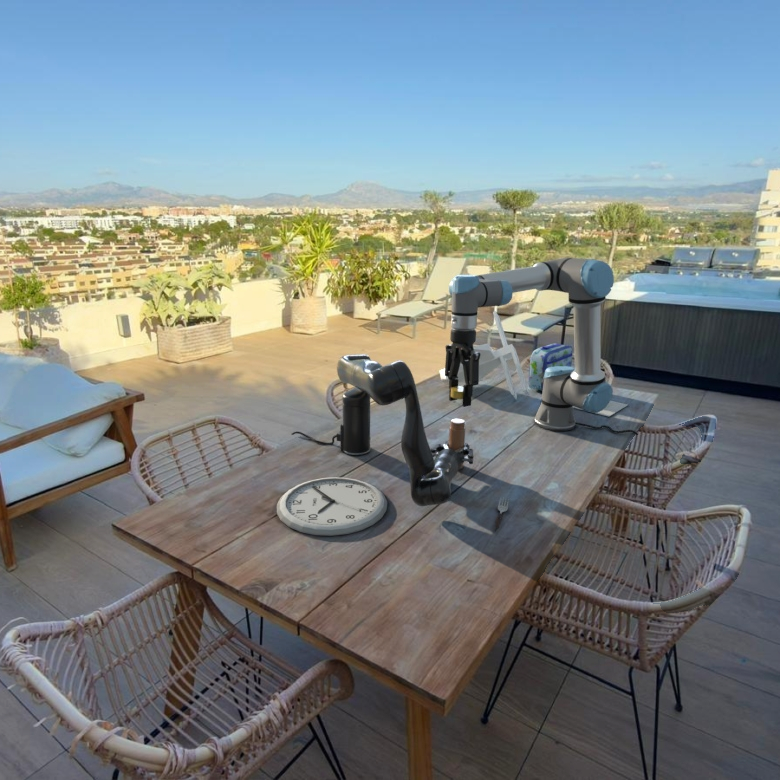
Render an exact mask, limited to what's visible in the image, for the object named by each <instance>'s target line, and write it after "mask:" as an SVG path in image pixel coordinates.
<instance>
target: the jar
mask: <svg viewBox="0 0 780 780" xmlns="http://www.w3.org/2000/svg"><path fill="white" fill-rule="evenodd" d="M448 441H449V449H452V450H457V449H459V448H463V447H464V445H465V443H466V442H465V441H466V421H465V419H462V418H452V419H451V420H450V425H449V432H448ZM463 468H464V462H463V463H461V466H460V468H459V470H463Z"/></svg>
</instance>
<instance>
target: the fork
mask: <svg viewBox="0 0 780 780" xmlns="http://www.w3.org/2000/svg"><path fill="white" fill-rule="evenodd" d="M501 500H502V501H501ZM509 500H510V497H508V499H507V498H505V500H504V496H503V497H500V498H499V502H498V505H497V511H499V514H498V515H497V517H496V521H495V527H494V532H497V530H498V527H499V526H500V524H501V522H502V515H503V513H504V512H507V511H508V509H509Z"/></svg>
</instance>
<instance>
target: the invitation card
mask: <svg viewBox="0 0 780 780" xmlns="http://www.w3.org/2000/svg"><path fill="white" fill-rule="evenodd" d="M628 406H629V404H627V403H623V402H618V401H614V400H610V402H609V403H608V405H607V406H606V407H605V408H604V409H603V410H602V411H600V412H597V413H595V414H596V415H600V416H604V417H608V418H609V417H611V416H613V415H614V414H616V413H617V412H619V411H621V410H623V409H624V408H626V407H628ZM573 409H575V410H581V411H584V410H583V409H580V408H578V407H575V406H573Z"/></svg>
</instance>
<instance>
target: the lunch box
mask: <svg viewBox="0 0 780 780" xmlns="http://www.w3.org/2000/svg"><path fill="white" fill-rule="evenodd" d="M573 356H574V355H573V347H572V346H571V345H566V344H560V343H551V344H548V345H544V346H541V347H538V348H536V349H534V350H533V351H532V353H531V355H530V359H529V370H528V371H529V372H528V389H531V390H536V391H541V392H542V391H543V379H544V375H545V370H546V369H547V368H549V367H555V366H569V367H572V365H573V363H572V362H573Z"/></svg>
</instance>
